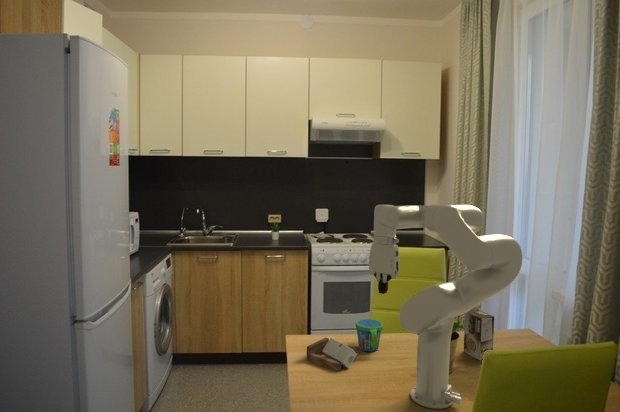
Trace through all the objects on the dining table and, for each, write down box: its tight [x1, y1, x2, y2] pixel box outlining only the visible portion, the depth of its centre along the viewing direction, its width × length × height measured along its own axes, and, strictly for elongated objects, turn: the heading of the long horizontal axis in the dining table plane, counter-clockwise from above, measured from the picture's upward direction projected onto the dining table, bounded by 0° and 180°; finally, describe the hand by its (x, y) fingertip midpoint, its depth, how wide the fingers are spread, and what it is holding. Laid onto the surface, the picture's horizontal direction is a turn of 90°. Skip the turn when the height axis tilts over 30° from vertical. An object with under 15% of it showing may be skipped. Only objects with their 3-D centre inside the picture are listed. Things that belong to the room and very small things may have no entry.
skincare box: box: [322, 337, 358, 369], centre depth 155 cm, size 6×4×12 cm
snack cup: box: [355, 318, 384, 353], centre depth 168 cm, size 16×10×10 cm
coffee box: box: [463, 309, 495, 361], centre depth 163 cm, size 9×6×16 cm
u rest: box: [306, 337, 357, 372], centre depth 157 cm, size 14×12×5 cm
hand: (382, 292), depth 149 cm, fingers closed
